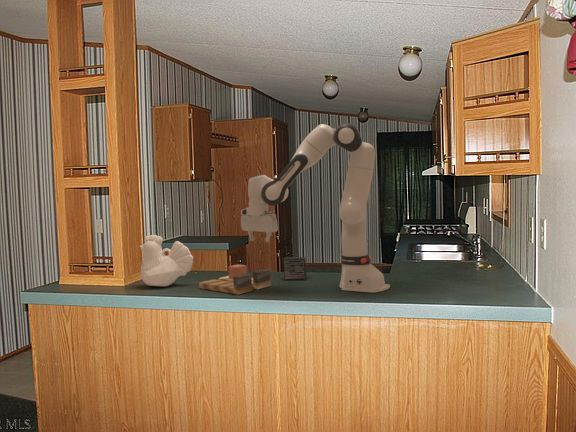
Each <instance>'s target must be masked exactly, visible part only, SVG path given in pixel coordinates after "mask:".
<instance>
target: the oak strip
mask: <svg viewBox="0 0 576 432" xmlns="http://www.w3.org/2000/svg"><path fill="white" fill-rule="evenodd" d="M251 278H252V273H247V274H242V275H238V276H234V277H233V280H234V282H228V281H221V280H218V279H216V278H215V279H209V280H205V281H201V282H198V289H201V290H209V291H215V292H221V293H227V294H232V295H242V294H245V293H246V294H247V293H249V292H253V290H254V289H253V285H252V280H251Z"/></svg>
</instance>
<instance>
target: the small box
mask: <svg viewBox="0 0 576 432" xmlns="http://www.w3.org/2000/svg"><path fill="white" fill-rule="evenodd" d="M306 258H307V257H306V256H293V257H292V256H287V257H284V258H283V260H282V261H283V275H284V276H283V277H284V278H283V280H284V281H306V280H307V261H306V260H307V259H306Z"/></svg>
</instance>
